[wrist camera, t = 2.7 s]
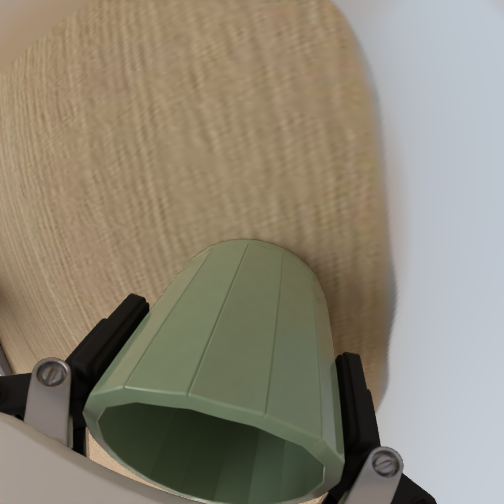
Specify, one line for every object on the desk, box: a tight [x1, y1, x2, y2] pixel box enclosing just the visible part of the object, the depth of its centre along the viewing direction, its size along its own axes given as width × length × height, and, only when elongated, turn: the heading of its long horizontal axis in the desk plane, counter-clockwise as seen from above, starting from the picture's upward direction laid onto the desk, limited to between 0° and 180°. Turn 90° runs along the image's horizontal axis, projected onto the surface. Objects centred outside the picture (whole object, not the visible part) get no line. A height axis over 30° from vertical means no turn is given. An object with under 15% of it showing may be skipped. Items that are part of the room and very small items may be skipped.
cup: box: [82, 239, 345, 504], centre depth 10 cm, size 7×7×8 cm
